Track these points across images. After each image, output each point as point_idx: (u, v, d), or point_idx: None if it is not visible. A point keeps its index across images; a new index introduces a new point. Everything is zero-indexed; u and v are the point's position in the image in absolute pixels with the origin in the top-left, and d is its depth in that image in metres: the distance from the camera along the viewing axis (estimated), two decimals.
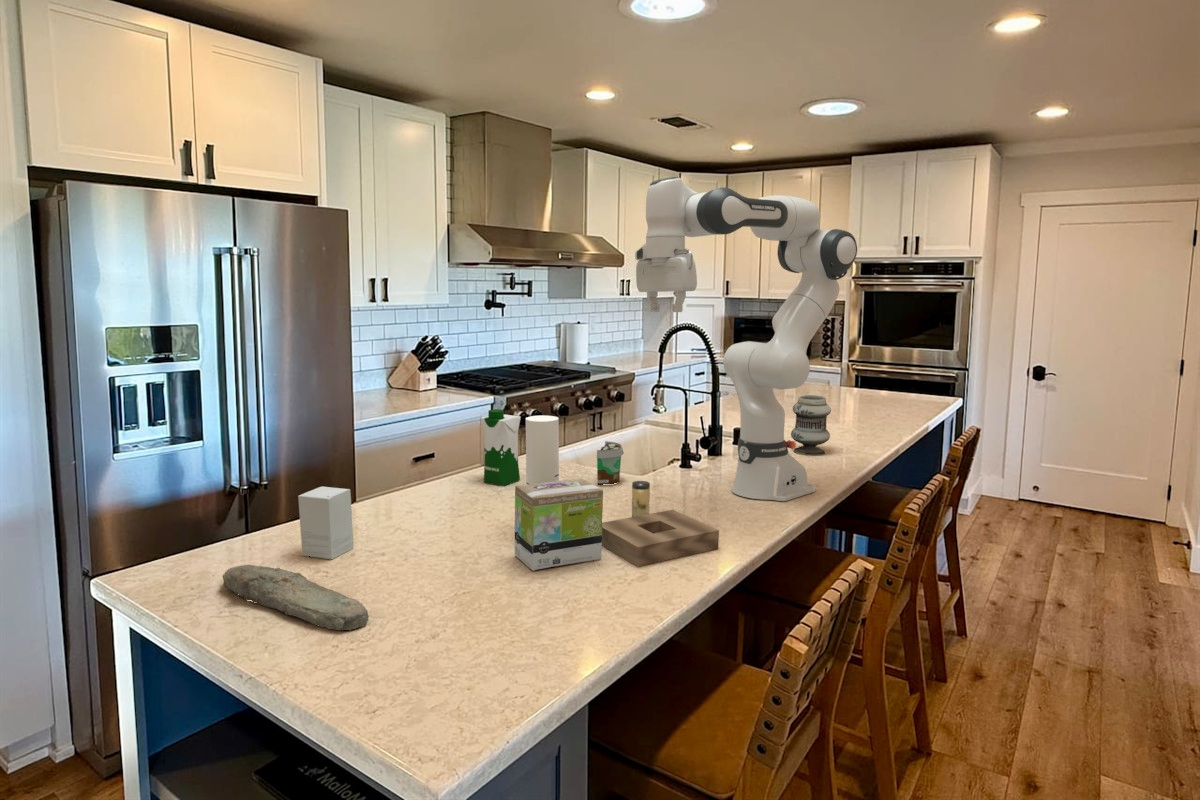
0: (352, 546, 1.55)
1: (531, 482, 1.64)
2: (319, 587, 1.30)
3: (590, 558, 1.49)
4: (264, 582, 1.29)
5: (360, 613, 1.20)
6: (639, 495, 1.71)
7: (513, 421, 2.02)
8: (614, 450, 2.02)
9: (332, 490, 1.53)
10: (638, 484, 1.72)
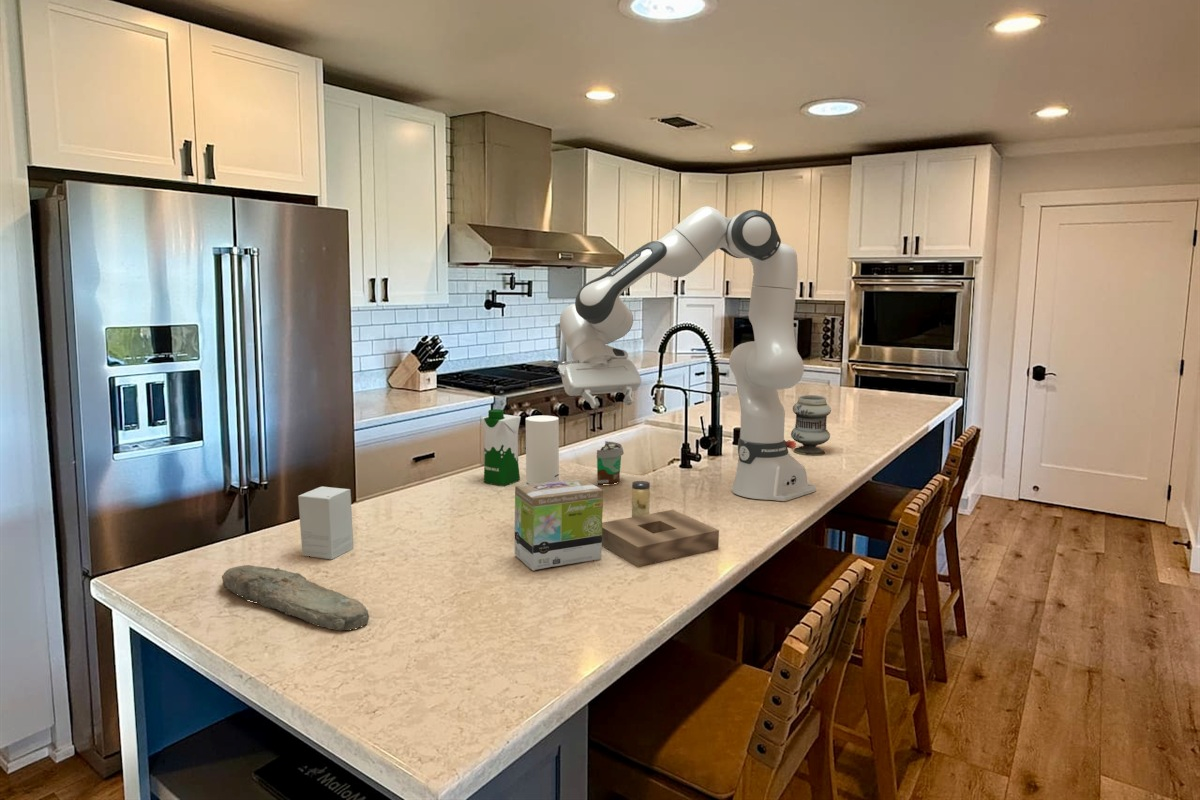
0: (352, 546, 1.55)
1: (531, 482, 1.64)
2: (319, 587, 1.30)
3: (590, 558, 1.49)
4: (264, 582, 1.29)
5: (361, 613, 1.21)
6: (639, 495, 1.71)
7: (513, 421, 2.02)
8: (614, 450, 2.02)
9: (332, 490, 1.53)
10: (638, 484, 1.72)
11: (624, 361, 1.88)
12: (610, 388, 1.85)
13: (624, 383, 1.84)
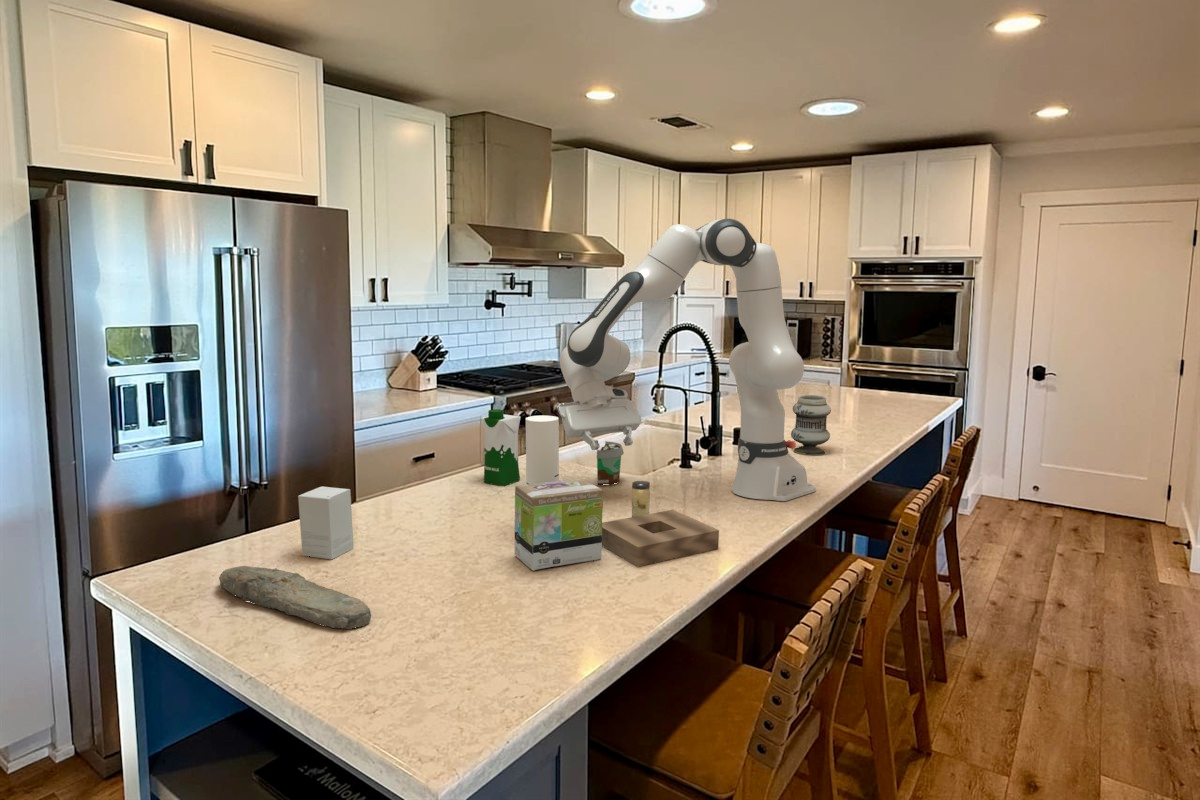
0: (352, 546, 1.55)
1: (531, 482, 1.64)
2: (319, 587, 1.30)
3: (590, 558, 1.49)
4: (263, 582, 1.29)
5: (363, 612, 1.21)
6: (639, 495, 1.71)
7: (513, 421, 2.02)
8: (614, 450, 2.02)
9: (332, 490, 1.53)
10: (638, 484, 1.72)
11: (624, 401, 1.89)
12: (610, 428, 1.86)
13: (624, 423, 1.86)
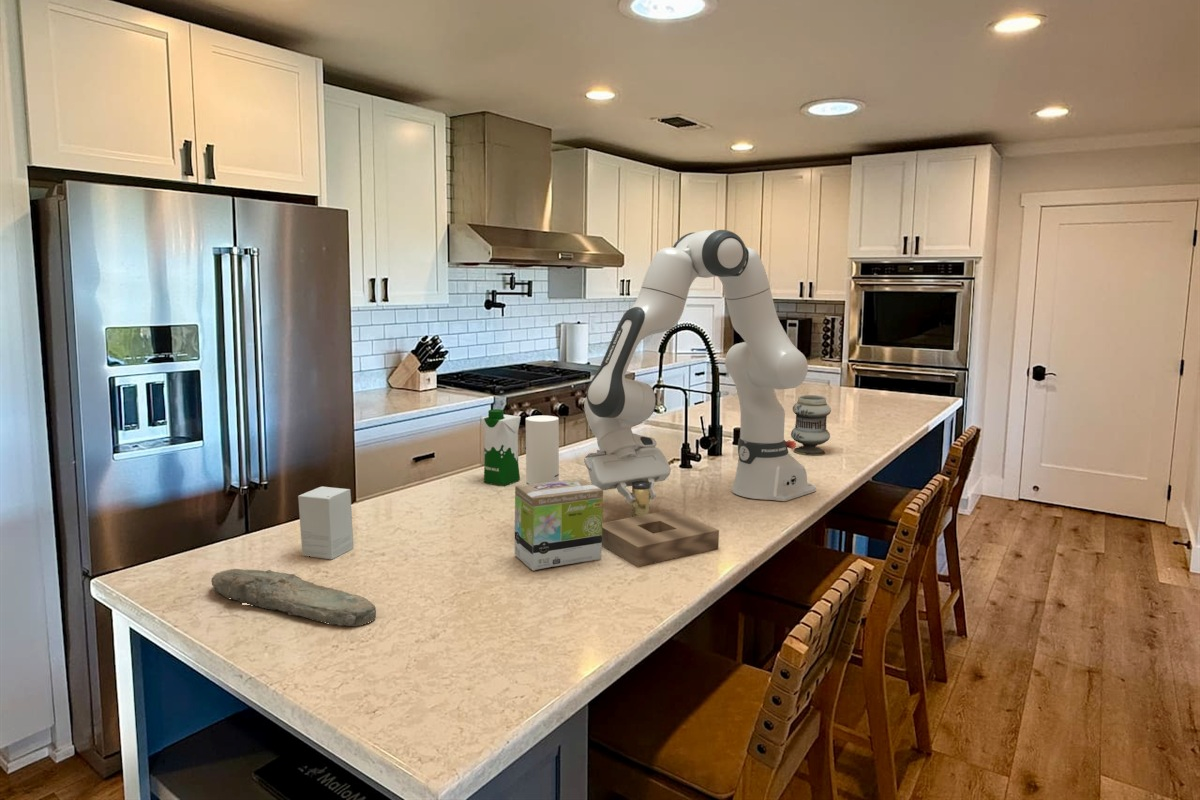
0: (352, 546, 1.55)
1: (531, 482, 1.64)
2: (318, 586, 1.31)
3: (590, 558, 1.49)
4: (262, 584, 1.28)
5: (370, 608, 1.22)
6: (639, 495, 1.71)
7: (513, 421, 2.02)
8: None
9: (332, 490, 1.53)
10: (638, 484, 1.72)
11: (652, 450, 1.80)
12: (638, 480, 1.77)
13: (653, 475, 1.76)
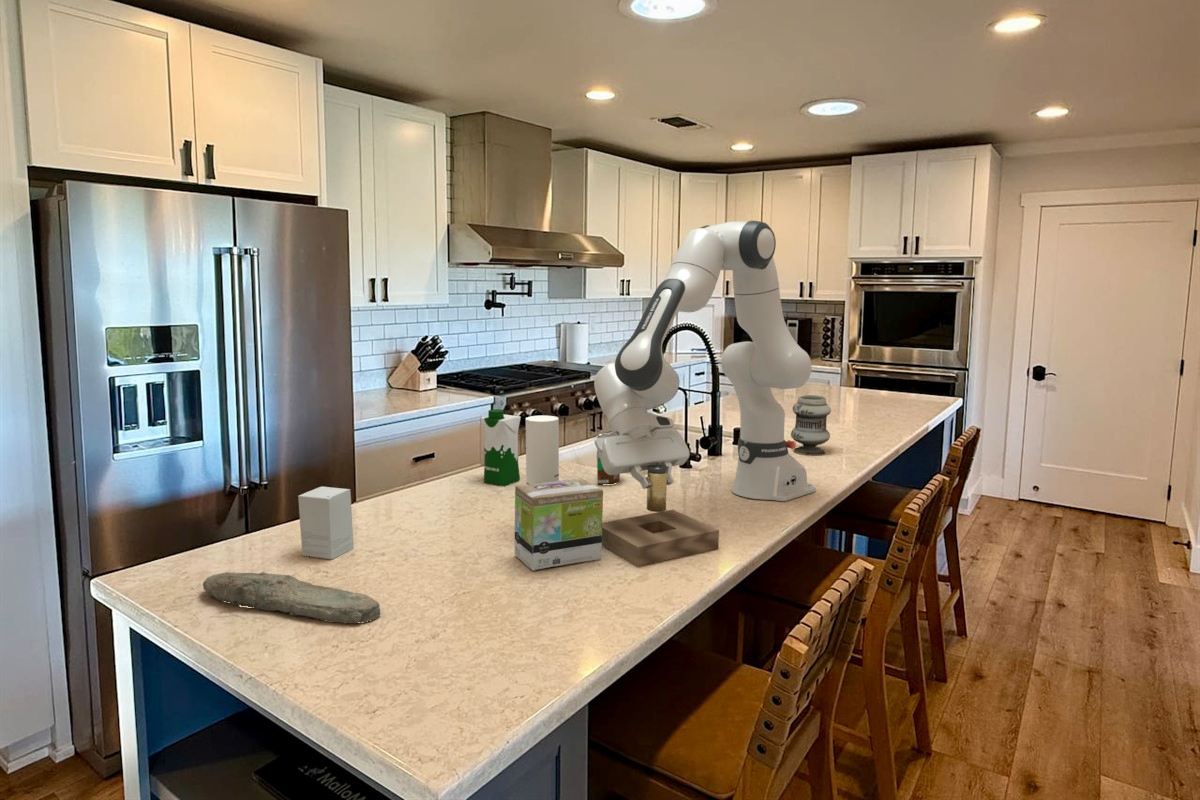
0: (352, 546, 1.55)
1: (531, 482, 1.64)
2: (317, 586, 1.31)
3: (590, 558, 1.49)
4: (260, 586, 1.27)
5: (375, 605, 1.24)
6: (655, 479, 1.54)
7: (513, 421, 2.02)
8: None
9: (332, 490, 1.53)
10: (654, 468, 1.55)
11: (670, 431, 1.63)
12: (654, 463, 1.60)
13: (671, 458, 1.59)
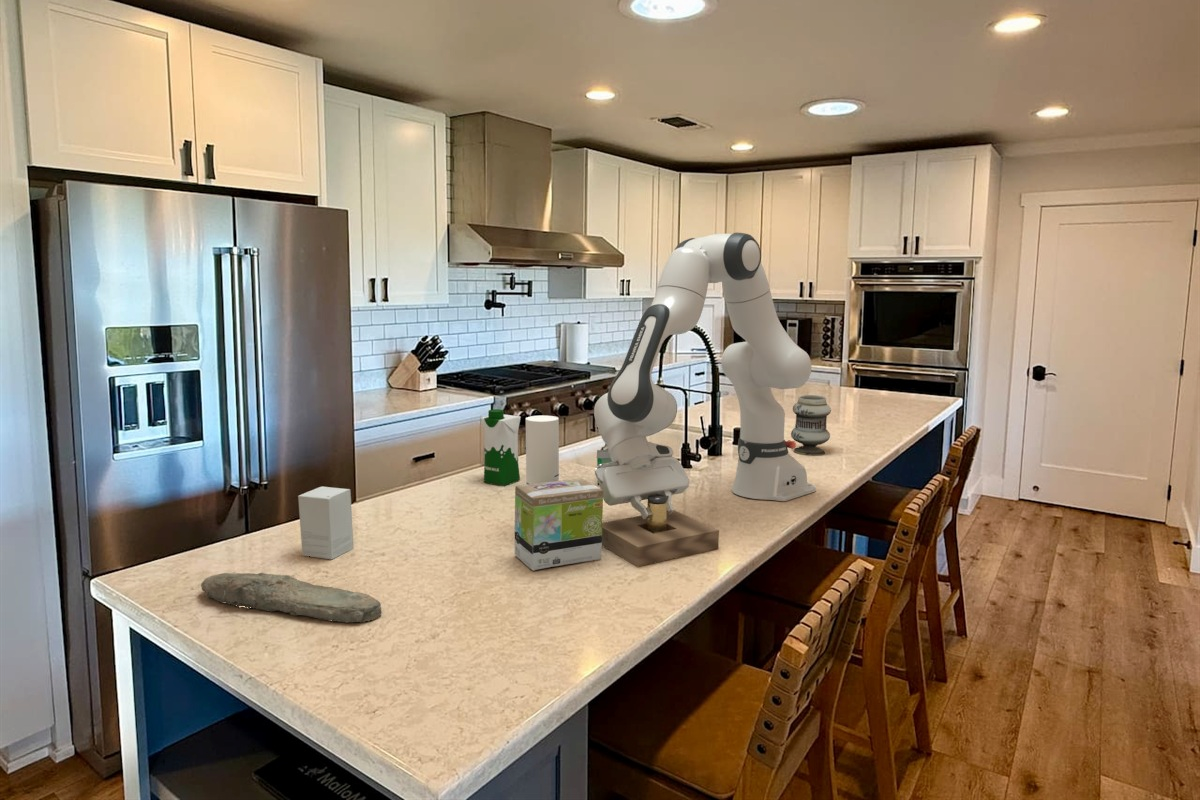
0: (352, 546, 1.55)
1: (531, 482, 1.64)
2: (316, 586, 1.31)
3: (590, 558, 1.49)
4: (260, 586, 1.27)
5: (376, 604, 1.24)
6: (655, 510, 1.55)
7: (513, 421, 2.02)
8: None
9: (332, 490, 1.53)
10: (654, 498, 1.56)
11: (669, 460, 1.64)
12: (654, 493, 1.61)
13: (670, 487, 1.60)
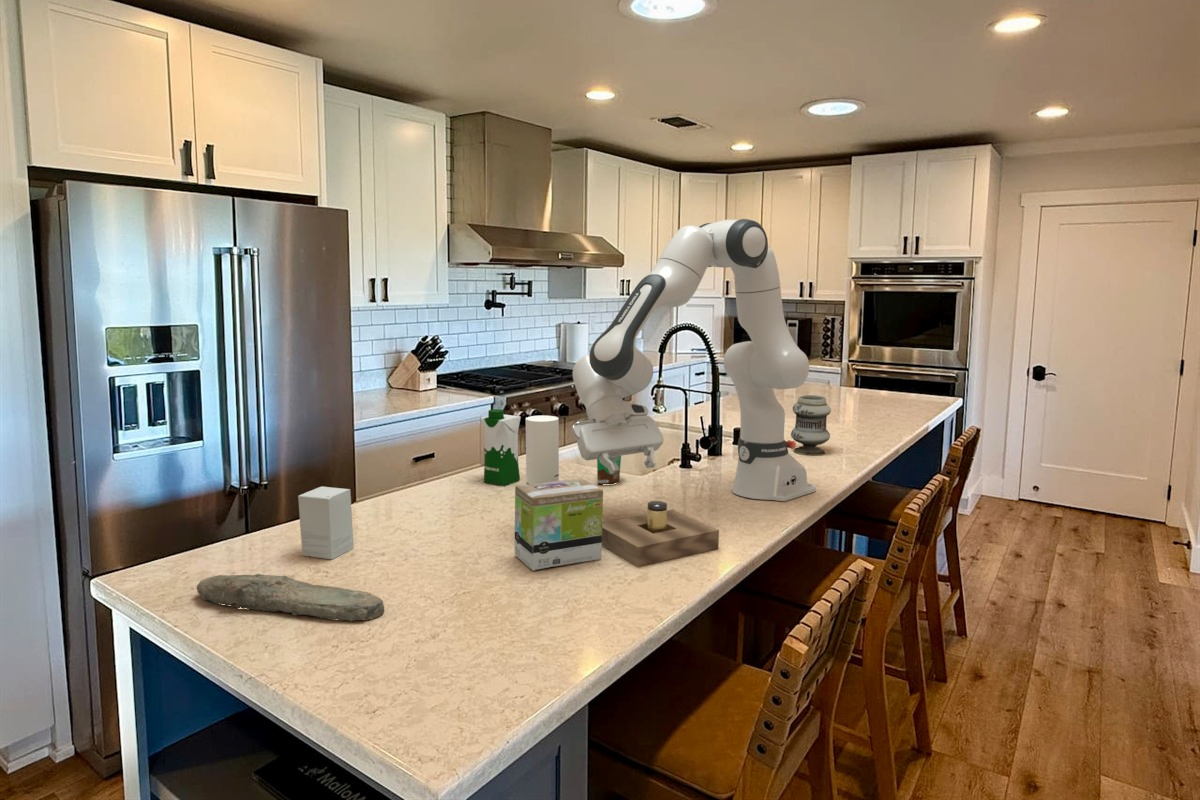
0: (352, 546, 1.55)
1: (531, 482, 1.64)
2: (316, 586, 1.31)
3: (590, 558, 1.49)
4: (259, 587, 1.27)
5: (379, 602, 1.25)
6: (655, 517, 1.55)
7: (513, 421, 2.02)
8: None
9: (332, 490, 1.53)
10: (654, 505, 1.56)
11: (644, 418, 1.71)
12: (630, 449, 1.68)
13: (645, 444, 1.68)
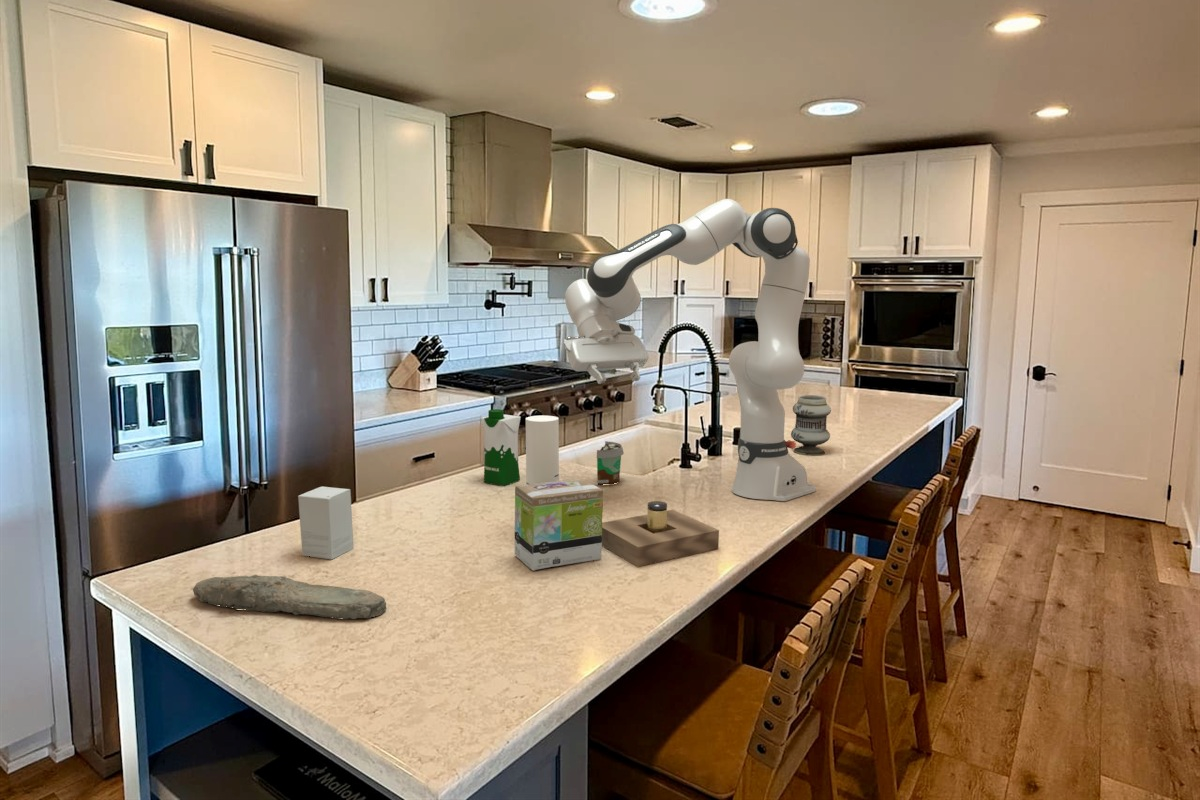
0: (352, 546, 1.55)
1: (531, 482, 1.64)
2: (315, 585, 1.31)
3: (590, 558, 1.49)
4: (259, 588, 1.27)
5: (381, 600, 1.26)
6: (655, 517, 1.55)
7: (513, 421, 2.02)
8: (614, 450, 2.02)
9: (332, 490, 1.53)
10: (654, 505, 1.56)
11: (631, 337, 1.84)
12: (617, 364, 1.81)
13: (631, 359, 1.81)
